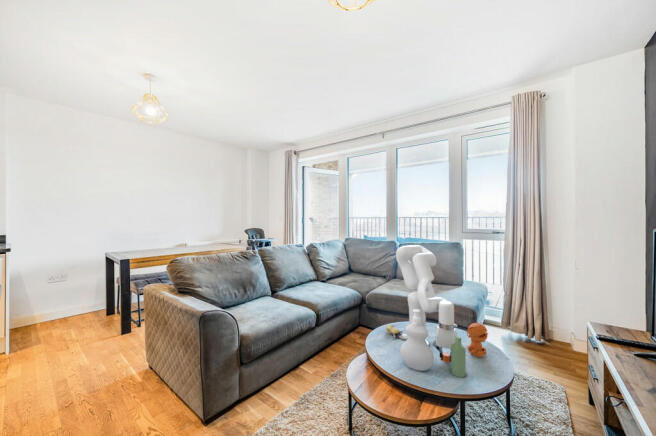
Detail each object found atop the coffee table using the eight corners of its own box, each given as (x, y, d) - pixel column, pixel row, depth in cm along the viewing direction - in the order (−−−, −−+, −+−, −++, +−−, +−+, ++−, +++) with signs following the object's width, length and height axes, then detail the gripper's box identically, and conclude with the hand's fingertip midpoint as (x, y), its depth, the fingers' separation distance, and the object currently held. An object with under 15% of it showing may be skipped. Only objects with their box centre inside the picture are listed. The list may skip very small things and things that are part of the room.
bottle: (451, 375, 131) (451, 338, 131) (450, 368, 137) (450, 333, 136) (466, 378, 128) (466, 341, 128) (464, 371, 134) (465, 335, 134)
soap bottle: (436, 366, 138) (436, 309, 138) (431, 377, 129) (431, 317, 128) (404, 356, 148) (404, 304, 147) (396, 366, 138) (396, 310, 138)
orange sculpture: (492, 360, 143) (492, 327, 143) (470, 358, 146) (470, 325, 145) (484, 350, 154) (484, 319, 154) (464, 348, 156) (464, 318, 156)
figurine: (409, 340, 172) (390, 329, 182) (411, 332, 171) (391, 321, 181) (401, 345, 165) (381, 334, 176) (402, 337, 164) (382, 326, 175)
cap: (451, 363, 139) (451, 356, 139) (443, 362, 140) (443, 355, 140) (449, 359, 143) (449, 352, 143) (441, 358, 144) (441, 351, 144)
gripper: (463, 325, 142) (463, 359, 142) (429, 320, 148) (429, 353, 148) (464, 331, 135) (464, 367, 135) (429, 325, 141) (429, 360, 142)
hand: (446, 359), depth 142 cm, fingers closed on cap, 3 cm apart
